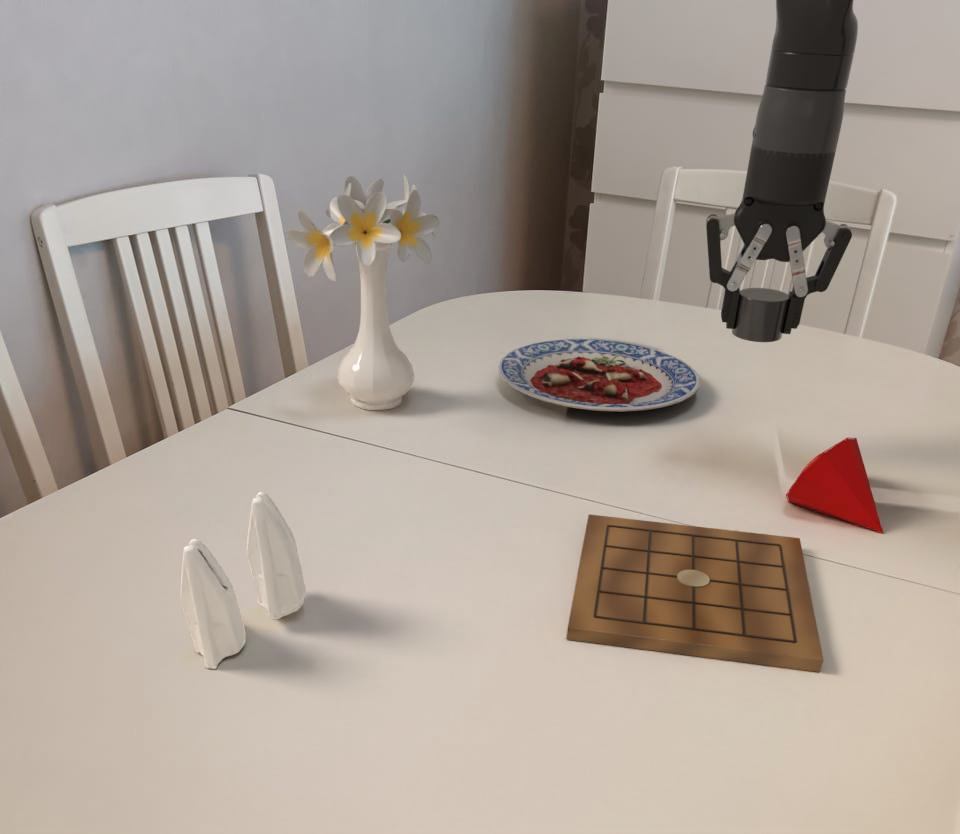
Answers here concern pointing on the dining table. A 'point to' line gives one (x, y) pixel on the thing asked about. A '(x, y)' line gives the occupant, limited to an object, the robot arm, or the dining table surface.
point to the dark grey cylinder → (761, 314)
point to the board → (695, 593)
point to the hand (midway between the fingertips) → (758, 328)
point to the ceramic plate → (599, 375)
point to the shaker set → (213, 593)
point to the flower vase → (370, 281)
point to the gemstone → (838, 486)
